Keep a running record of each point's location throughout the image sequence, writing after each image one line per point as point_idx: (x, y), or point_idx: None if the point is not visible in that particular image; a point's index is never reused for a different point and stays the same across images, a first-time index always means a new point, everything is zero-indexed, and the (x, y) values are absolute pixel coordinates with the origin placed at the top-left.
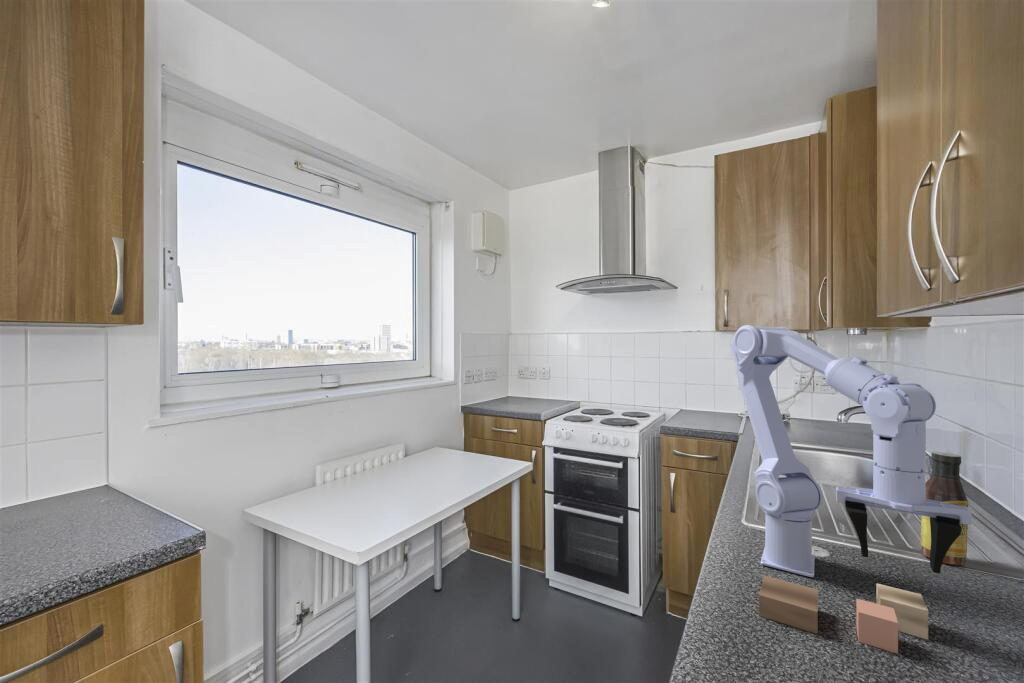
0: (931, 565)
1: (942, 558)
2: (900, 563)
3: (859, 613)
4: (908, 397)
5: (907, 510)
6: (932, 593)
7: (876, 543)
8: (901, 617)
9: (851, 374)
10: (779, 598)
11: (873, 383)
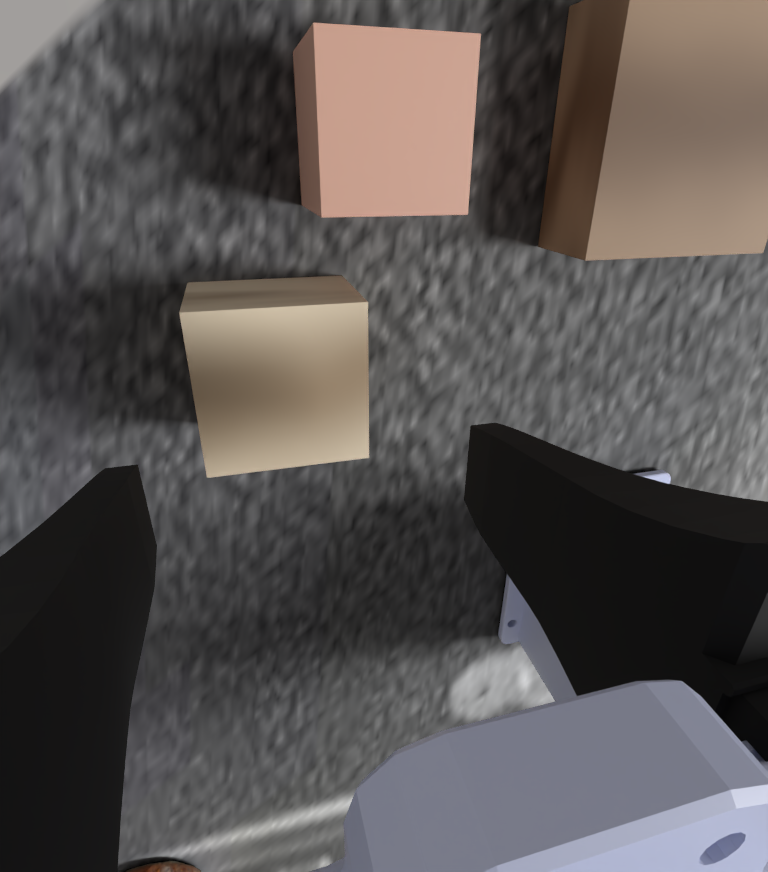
0: (145, 524)
1: (52, 520)
2: (261, 781)
3: (473, 35)
4: None
5: (466, 734)
6: (176, 657)
7: (318, 850)
8: (279, 290)
9: None
10: (765, 22)
11: None
